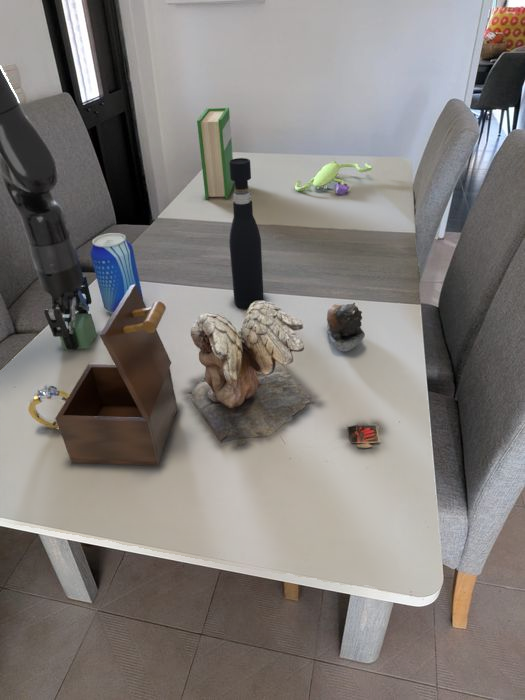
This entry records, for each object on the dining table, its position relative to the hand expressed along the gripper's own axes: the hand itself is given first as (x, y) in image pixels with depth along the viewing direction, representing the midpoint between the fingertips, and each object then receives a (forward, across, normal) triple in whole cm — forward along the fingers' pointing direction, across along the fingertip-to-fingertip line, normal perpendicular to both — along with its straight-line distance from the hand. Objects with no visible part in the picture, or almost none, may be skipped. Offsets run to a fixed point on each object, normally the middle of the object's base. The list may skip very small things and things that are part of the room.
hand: (79, 338), depth 102 cm
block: (+1, 0, 0) cm, 1 cm away
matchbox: (+1, +24, +54) cm, 59 cm away
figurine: (+1, -96, +52) cm, 109 cm away
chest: (+1, +25, +18) cm, 31 cm away
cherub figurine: (+1, +16, +36) cm, 39 cm away
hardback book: (+1, -91, +14) cm, 92 cm away
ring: (+1, +24, +6) cm, 25 cm away
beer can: (+1, -13, +5) cm, 14 cm away
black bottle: (+1, -16, +32) cm, 36 cm away
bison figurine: (+1, -2, +52) cm, 52 cm away
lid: (-15, +25, +22) cm, 37 cm away
